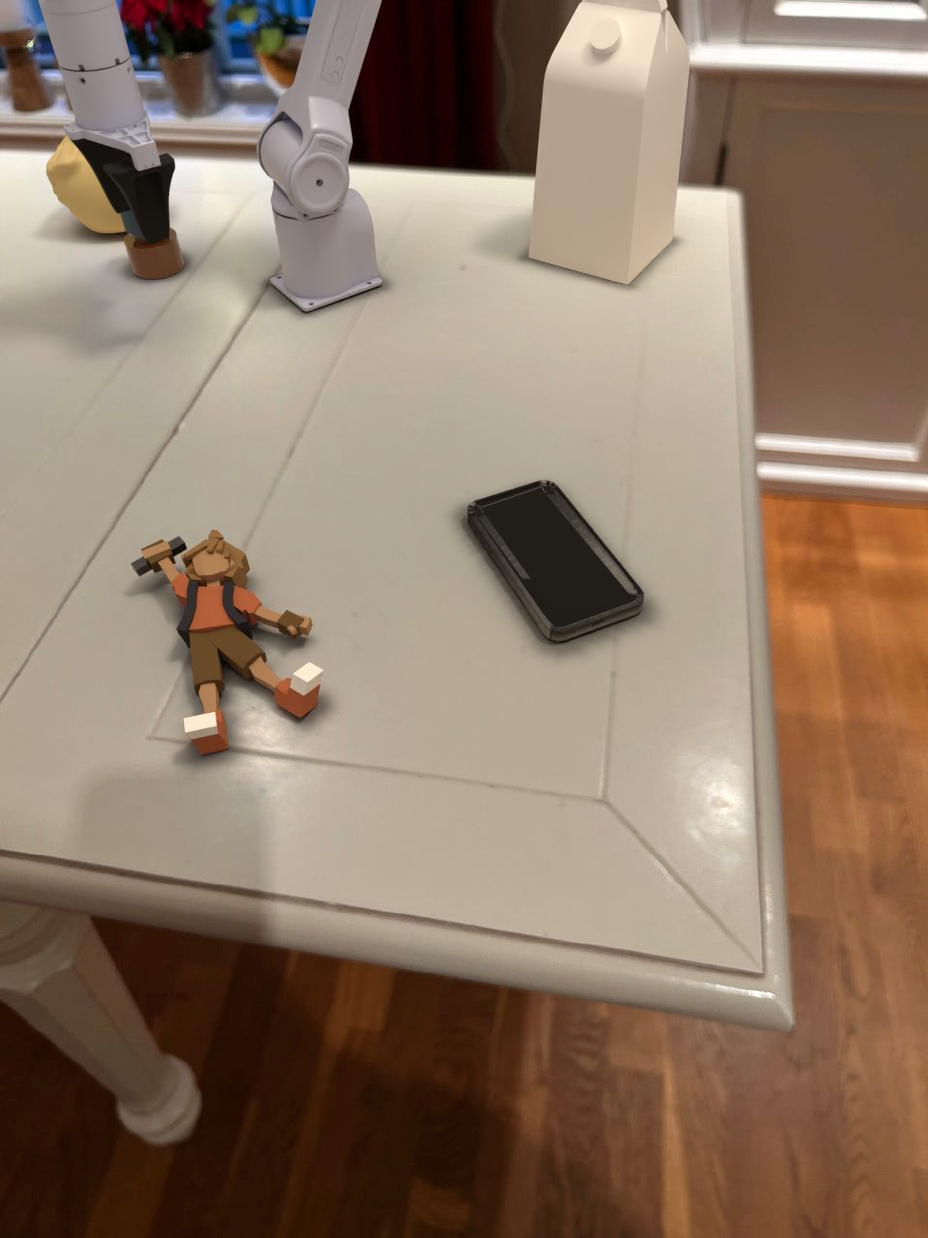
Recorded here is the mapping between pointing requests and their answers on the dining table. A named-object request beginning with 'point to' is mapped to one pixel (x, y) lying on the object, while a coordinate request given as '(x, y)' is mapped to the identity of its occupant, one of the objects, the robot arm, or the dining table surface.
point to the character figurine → (226, 631)
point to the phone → (554, 560)
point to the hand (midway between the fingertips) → (141, 224)
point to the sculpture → (81, 189)
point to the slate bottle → (130, 223)
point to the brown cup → (154, 256)
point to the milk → (610, 140)
